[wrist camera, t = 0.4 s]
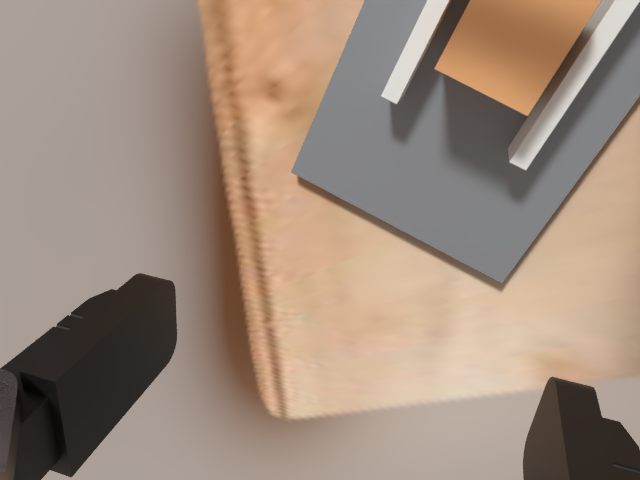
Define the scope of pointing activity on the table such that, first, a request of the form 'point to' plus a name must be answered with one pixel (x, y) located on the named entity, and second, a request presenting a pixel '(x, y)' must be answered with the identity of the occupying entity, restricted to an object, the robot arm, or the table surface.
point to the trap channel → (464, 131)
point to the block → (513, 46)
